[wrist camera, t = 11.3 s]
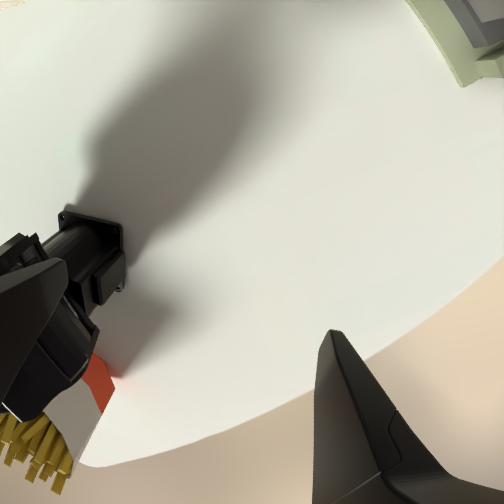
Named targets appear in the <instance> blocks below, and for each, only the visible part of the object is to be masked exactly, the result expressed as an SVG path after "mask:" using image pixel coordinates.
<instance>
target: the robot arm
mask: <svg viewBox="0 0 504 504" xmlns="http://www.w3.org/2000/svg"><path fill="white" fill-rule="evenodd" d="M63 216H64V218H63ZM58 222H59V231H58V232H57V233H55V234H54V235H53V236H51V237H50V238H49V239H47V240H46V241H45V242H44V243H42V244H41V243H40V241H39V237H38V235H37V233H34V234H33V235H32V236H30V237H28V235H27V236H24V235H22V234H21V233H18V234H17V235H15V236H14V237H12V238H11V239H10V240H8V241H7V242H6V243H4V244H3V245H1V246H0V415H1V414H11V413H12V414H13V415H14V416H15V417H16V418H17V419H18V420H19V421H20V422H23V423H24V422H27V421H30V420H33V419H36V418H37V417H38V416H39V414H40V413H41V412H42V411H43V410H44V408H45V407H46V406H47V405H48V404H49V403H50V402H51V401H52V400H53V399H54V398H55V397H56V396H57V395H58V394H60V393H61V392H62V391H64V390H67V389H68V388H70V387H71V386H73V385H74V384H75V383H76V382H77V381H78V380H79V379H80V378H81V377H82V376H83V374H84V373H85V371H86V370H87V367H88V365H89V362H90V359H91V356H92V353H93V350H94V347H95V344H96V341H97V338H98V335H99V332H100V330H99V329H98V327H97V326H96V325H94V324H93V323H92V321H91V320H90V319H89V316H90V314H91V313H92V312H93V310H94V309H95V308H96V306H97V305H100V306H102V305H103V304H104V303H105V302H106V301H107V300H108V298H109V297H110V296H111V294H112V293H113V292H114V291H117V292H121V291H122V290H123V289H124V278H125V258H124V251H123V239H122V227H121V225H119V224H118V223H114V222H110V221H106V220H101V219H97V218H93V217H89V216H85V215H80V214H76V213H72V212H68V211H62V212H60V213H59V214H58ZM114 228H115V229H116V230H117V232H116V231H115V229H114ZM118 286H119V287H118ZM313 464H314V465H313V493H312V504H504V491H501V490H497V489H493V488H489V487H485V486H481V485H478V484H474V483H471V482H468V481H464V480H461V479H458V478H456V477H454V476H452V475H451V474H449V473H448V472H447V471H446V470H445V469H444V468H443V467H442V466H441V465H440V464H439V462H438V461H437V460H436V459H435V458H434V456H433V455H432V454H431V453H430V452H429V450H428V449H427V448H426V447H425V446H424V445H423V443H422V442H421V441H420V440H419V438H418V437H417V436H416V435H415V434H414V432H413V431H412V430H411V428H410V427H409V425H408V424H407V423H406V421H405V420H404V419H403V417H402V416H401V414H400V413H399V411H398V410H396V407H395V406H394V404H393V403H392V401H391V400H390V398H389V397H388V396H387V394H386V393H385V391H384V390H383V388H382V387H381V386H380V384H379V383H378V381H377V380H376V378H375V377H374V376H373V374H372V373H371V371H370V370H369V369H368V367H367V366H366V364H365V363H364V362H363V360H362V359H361V357H360V356H359V355H358V353H357V352H356V350H355V349H354V348H353V346H352V345H351V343H350V342H349V341H348V339H347V338H346V336H345V335H344V334H343V332H341V331H338V330H332V329H330V330H329V331H328V332H327V334H326V336H325V338H324V340H323V342H322V344H321V346H320V348H319V352H318V362H317V372H316V381H315V390H314V463H313Z"/></svg>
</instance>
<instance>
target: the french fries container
mask: <svg viewBox="0 0 504 504" xmlns="http://www.w3.org/2000/svg"><path fill="white" fill-rule="evenodd" d="M114 390H115V387H114V384H113V382H112V380H111V377H110V375H109V372H108V370H107V367H106V364H105V362H104V360H102V359H101V358H99V357H98V356H96V355H95V354H93V353H92V356H91V359H90V362H89V365H88V367H87V370H86V371H85V373H84V374H83V376H82V377H81V378H80V379H79V380H78V381H77V382H76V383H75V384H74V385H73V386H71V387H70V388H68V389H67V390H64V391H62V392H61V393H60V394H58V395H57V396H56V397H55V398H54V399H53V400H52V401H51V402H50V403H49V404H48V405H47V406H46V407H45V408H44V410H43V411H42V412H41V413H40V414H39V416H38V417H37V418H36V419H33V420H30V421H27V422H24V423H23V422H20V421H19V420H18V419H17V418H16V417H15V416H14V415H13V414H12V413H11V414H1V415H0V455H1V452H2V450H3V447H4V445H5V444H6V445H9V443H10V442H11V444H10V447H9V449H8V452H7V455H6V458H5V460H4V464H6V465H7V466H9V467H11V464H12V461H13V459H15V460H17V461H19V462H21V463H23V462H24V461H25V459H26V458H27V456H28V454H30V455H32V456H33V458H32V459H31V461H30V464H31V465H30V467H29V470H28V472H27V474H26V477H25V479H26V480H28V481H29V482H32V483H33V482H34V479H35V477H36V475H37V472H38V470H39V469H40V467H41V466H42V464H43V463H44V464H45V466H44V467H43V470H42V472H41V473H40V475H39V477H38V478H39V479H41V480H42V481H44V482H46V480H47V478H48V476H49V477H51V476H52V474H53V473H54V471H56V472H57V475H56V477H55V479H54V482H53V485H52V487H51V491H52V492H54V493H56V494H58V495H60V494H61V491H62V488H63V486H64V483H65V480H66V478H68V479H69V478H71V476H72V474H73V472H74V470H75V467H76V465H77V463H78V461H79V459H80V457H81V455H82V453H83V451H84V449H85V447H86V445H87V443H88V441H89V439H90V437H91V435H92V433H93V431H94V429H95V427H96V425H97V424H98V422H99V420H100V418H101V416H102V414H103V412H104V410H105V408H106V406H107V404H108V402H109V400H110V398H111V396H112V394H113V392H114ZM15 454H16V457H15V458H14V456H15Z"/></svg>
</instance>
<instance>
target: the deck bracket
mask: <svg viewBox="0 0 504 504" xmlns="http://www.w3.org/2000/svg"><path fill="white" fill-rule="evenodd" d="M406 1H407V2H408V4H409V5H410V6H411V8H412V9H413V10H414V12H415V13H416V15H417V16H418V17H419V19H420V20H421V22H422V23H423V25H424V26H425V27H426V29H427V30H428V32H429V34H430V35H431V37H432V38H433V40H434V41H435V43H436V44H437V46H438V48H439V49H440V51H441V53H442V54H443V56H444V58H445V60H446V61H447V63H448V65H449V67H450V68H451V70H452V72H453V74H454V76H455V78H456V79H457V81H458V83H459V85H460V87H463V88H464V87H466V86H468V85H469V84H471V83H473V82H475V81H477V80H478V79H480V78H482V77H496V78H504V40H501V41H499V42H497V43H495V44H493V45H491V46H488V47H480V48H473V46H472V45H471V43H470V41H469V39H468V38H467V36H466V34H465V32H464V31H463V29H462V27H461V26H460V24H459V23H458V21H457V19H456V18H455V16H454V15H453V13H452V12H451V10H450V9H449V7H448V6H447V4H446V3H445V2H444V0H406Z"/></svg>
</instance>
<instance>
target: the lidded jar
mask: <svg viewBox="0 0 504 504" xmlns="http://www.w3.org/2000/svg"><path fill="white" fill-rule="evenodd" d="M27 1H29V0H0V9H5V8H9V7H14V6H17V5H19V4H22V3H24V2H27Z"/></svg>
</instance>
